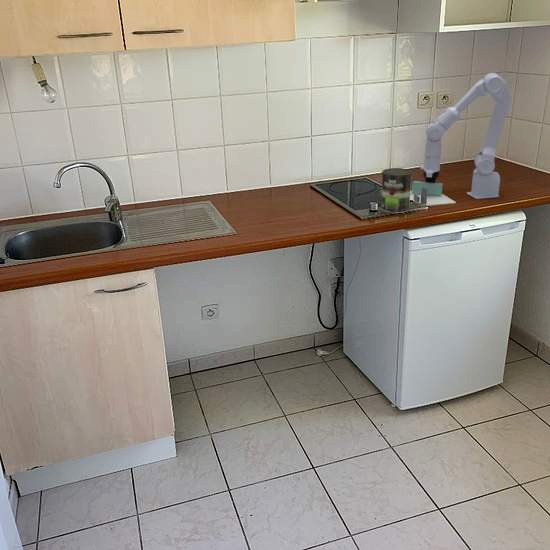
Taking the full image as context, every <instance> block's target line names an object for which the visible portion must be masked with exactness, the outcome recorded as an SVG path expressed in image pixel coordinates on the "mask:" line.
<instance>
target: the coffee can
mask: <svg viewBox="0 0 550 550" xmlns="http://www.w3.org/2000/svg"><path fill="white" fill-rule="evenodd" d="M381 174H382V176H381V177H382V178H381V179H382V181H381V197H380V198H381V199H380V200H381V201H380V209H381V208H382V209H383V210H386V211H390V212H398V213H403V214H405V213H404V212H405V211H407V210H408V209H409V210H410V204H411V202H410V191H412V189H411V188H412V180H411V177H412V175H413V171H412V170H410V169H407V168H399V167H392V168H385V169H383V170H382V171H381Z"/></svg>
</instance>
